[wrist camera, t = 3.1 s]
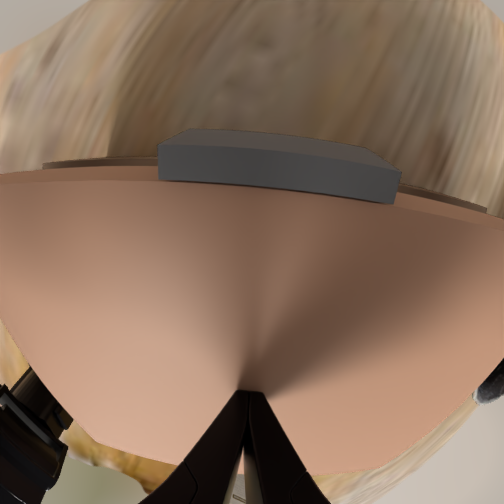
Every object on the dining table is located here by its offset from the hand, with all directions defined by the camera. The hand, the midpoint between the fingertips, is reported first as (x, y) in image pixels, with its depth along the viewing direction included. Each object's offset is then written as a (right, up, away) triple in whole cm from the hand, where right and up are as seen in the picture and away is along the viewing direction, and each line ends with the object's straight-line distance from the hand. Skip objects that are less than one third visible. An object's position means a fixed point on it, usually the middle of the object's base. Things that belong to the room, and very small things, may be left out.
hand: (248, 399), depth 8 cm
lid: (0, -1, +3) cm, 3 cm away
